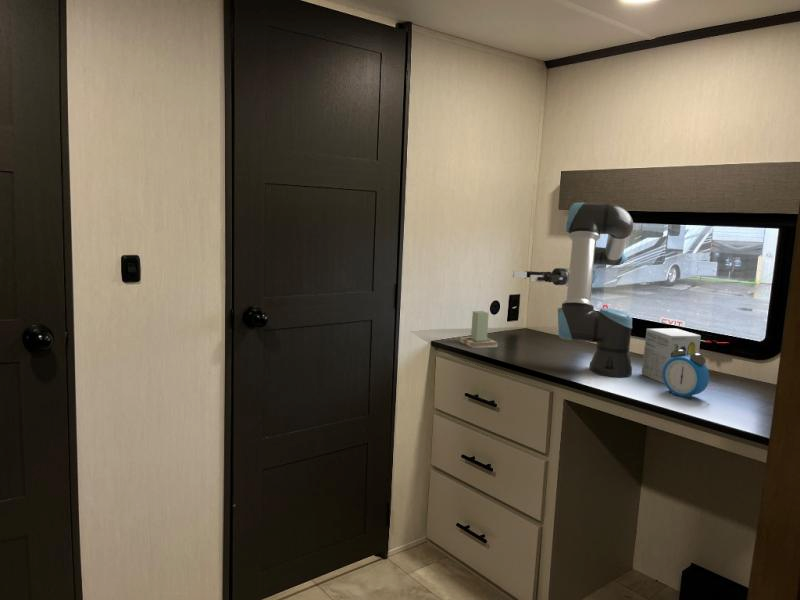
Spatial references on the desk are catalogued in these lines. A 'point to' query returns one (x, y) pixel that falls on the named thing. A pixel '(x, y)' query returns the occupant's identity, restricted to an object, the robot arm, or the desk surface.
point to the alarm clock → (686, 373)
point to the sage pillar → (479, 326)
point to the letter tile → (478, 343)
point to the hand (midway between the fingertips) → (521, 276)
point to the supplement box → (666, 349)
